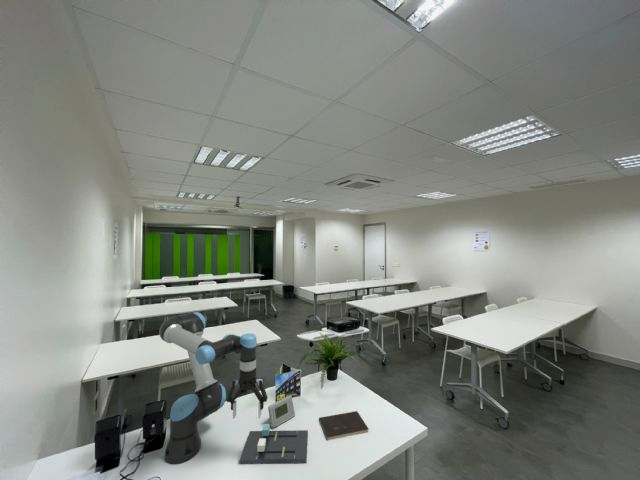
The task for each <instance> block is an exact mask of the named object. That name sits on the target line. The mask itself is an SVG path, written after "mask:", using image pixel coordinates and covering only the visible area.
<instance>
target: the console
mask: <svg viewBox="0 0 640 480" xmlns="http://www.w3.org/2000/svg"><path fill="white" fill-rule="evenodd" d="M308 436H309V431H308V430H306V429H304V430H303V429H302V430H300V429H299V430H269V434H268V435H267V436H262V430H250V431H249V433H248V436H247V437H246V438H247V439H246V441H245V444H244V447H243V449H242V452H241V455H240V458H239V459H238V460H239V463H238V464H239V465H277V464H280V465H284V464H287V465H289V464H296V465H297V464H307V462H308V461H307V459H308V441H309V440H308V439H309V437H308ZM260 438H266V446H265V449H264V452H257V445H258V442H259V439H260Z"/></svg>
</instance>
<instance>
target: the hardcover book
mask: <svg viewBox="0 0 640 480" xmlns="http://www.w3.org/2000/svg"><path fill="white" fill-rule="evenodd" d="M318 421H319V422H320V425H321V428H322V430H323V433H324V435H325V438H326V440H327V441H329V440H335V439H339V438H345V437H349V436H355V435H359V434H364V433H365V434H366V433H368V432H369V430H370V428H369V427H368V426H367V424H366V423H365V421H364V419H363V417H361V415H360V413H359V412H358V410H355V411H351V412H349V411H348V412H344V413H339V414H338V413H337V414H334V415H333V414H332V415H328V416H321V417H318Z"/></svg>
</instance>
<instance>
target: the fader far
mask: <svg viewBox="0 0 640 480" xmlns="http://www.w3.org/2000/svg"><path fill="white" fill-rule="evenodd" d="M261 431H262V436H267V435H268V434H269V431H271V423H264V424H263V426H262V430H261Z"/></svg>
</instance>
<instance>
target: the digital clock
mask: <svg viewBox="0 0 640 480" xmlns="http://www.w3.org/2000/svg"><path fill="white" fill-rule="evenodd" d="M267 409H268V415H269V422H270V423H269V424H270V428H272V429H275V428H277V427H279V426H281V425H282V424H284V423H286V422H287V421H289V420H291V419H292V418H294V417H295V416H296V411H295V407H294V401H293V397H292V395H291V394H290V395H288V396H285V397H282V398H281V399H278V400H277V401H275V402H273V403H272V404H269V405H268V407H267Z"/></svg>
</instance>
